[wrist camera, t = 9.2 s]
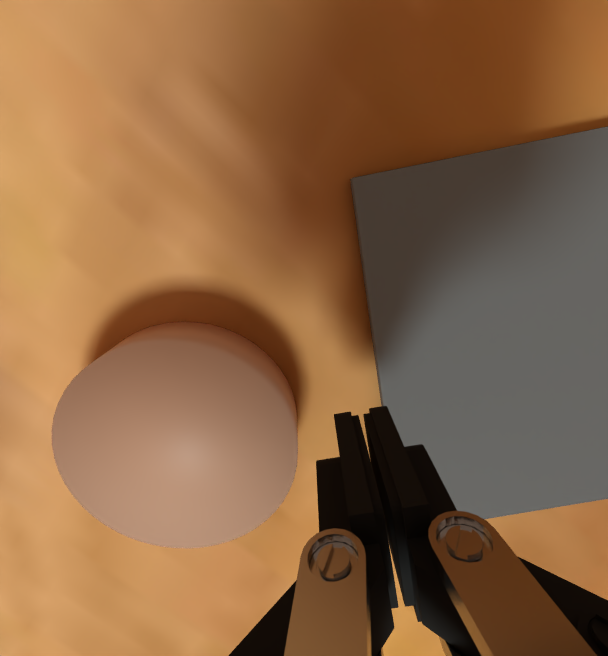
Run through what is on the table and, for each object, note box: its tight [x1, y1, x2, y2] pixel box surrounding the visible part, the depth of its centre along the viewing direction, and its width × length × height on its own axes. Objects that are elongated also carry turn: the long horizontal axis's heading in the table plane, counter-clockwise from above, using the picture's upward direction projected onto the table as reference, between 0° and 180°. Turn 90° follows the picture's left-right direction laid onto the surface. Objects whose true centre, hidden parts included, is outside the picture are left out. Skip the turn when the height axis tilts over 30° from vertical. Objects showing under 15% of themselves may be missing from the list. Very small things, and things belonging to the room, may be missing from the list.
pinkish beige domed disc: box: [52, 322, 298, 548], centre depth 15 cm, size 9×9×3 cm
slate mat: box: [350, 127, 608, 519], centre depth 15 cm, size 16×16×1 cm
